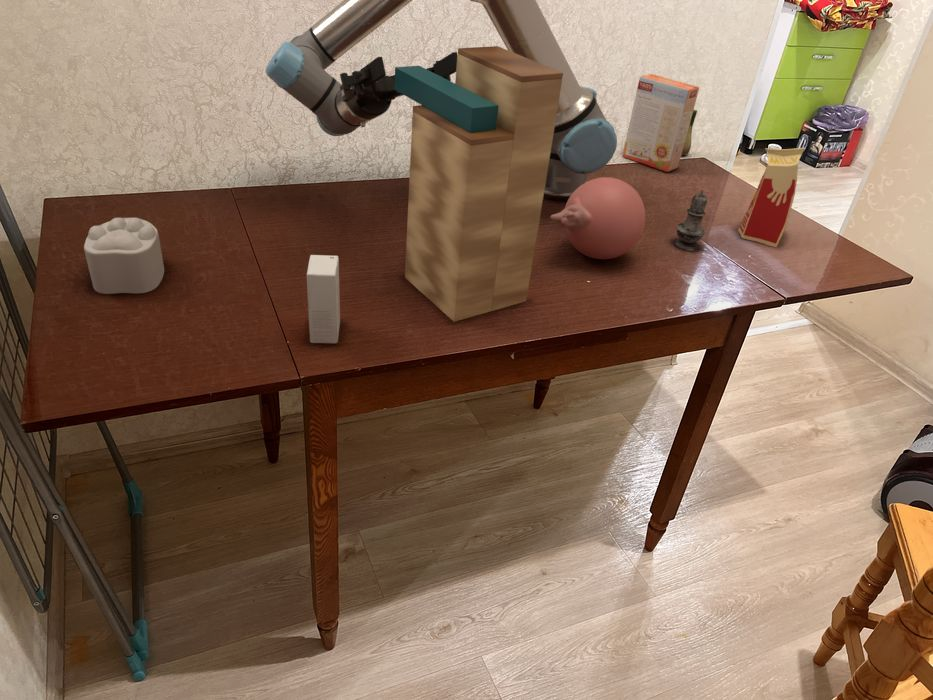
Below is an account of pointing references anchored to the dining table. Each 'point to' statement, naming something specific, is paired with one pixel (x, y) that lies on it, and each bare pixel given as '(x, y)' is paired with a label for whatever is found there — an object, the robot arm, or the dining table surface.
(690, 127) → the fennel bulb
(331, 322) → the cosmetic box
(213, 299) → the dining table surface
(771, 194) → the red printed carton
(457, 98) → the long teal rectangular block
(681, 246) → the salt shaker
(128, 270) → the lumpy-topped squat cylinder
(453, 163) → the step stand
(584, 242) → the balloon
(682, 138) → the cracker box
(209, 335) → the dining table surface
